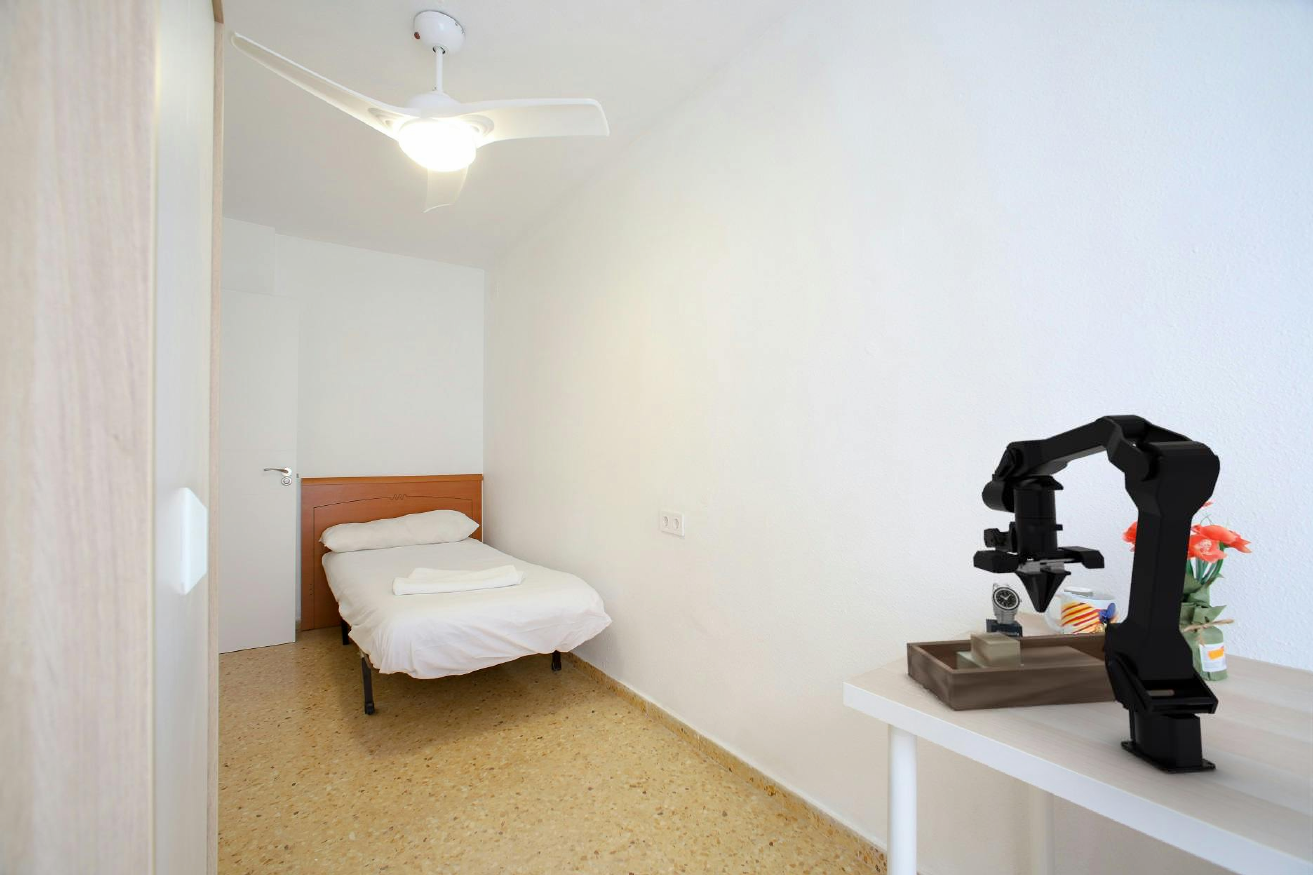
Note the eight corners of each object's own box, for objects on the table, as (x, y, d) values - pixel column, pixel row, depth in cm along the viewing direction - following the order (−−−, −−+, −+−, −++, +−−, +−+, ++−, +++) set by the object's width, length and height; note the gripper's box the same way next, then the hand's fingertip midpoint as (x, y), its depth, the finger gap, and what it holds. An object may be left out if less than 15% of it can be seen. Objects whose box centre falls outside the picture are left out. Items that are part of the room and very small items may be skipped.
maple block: (1021, 667, 91) (1019, 641, 91) (990, 668, 90) (989, 643, 91) (1000, 656, 96) (999, 632, 96) (971, 657, 95) (970, 633, 96)
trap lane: (1181, 696, 87) (1179, 660, 87) (954, 710, 85) (952, 673, 85) (1104, 663, 101) (1103, 631, 101) (908, 674, 99) (906, 642, 99)
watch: (994, 643, 113) (991, 588, 113) (984, 631, 121) (982, 579, 121) (1026, 645, 111) (1023, 589, 111) (1015, 633, 119) (1012, 580, 119)
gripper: (1052, 509, 102) (1057, 597, 102) (952, 514, 101) (956, 602, 101) (1104, 516, 91) (1110, 614, 91) (992, 521, 90) (997, 620, 90)
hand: (1040, 612), depth 93 cm, fingers closed
